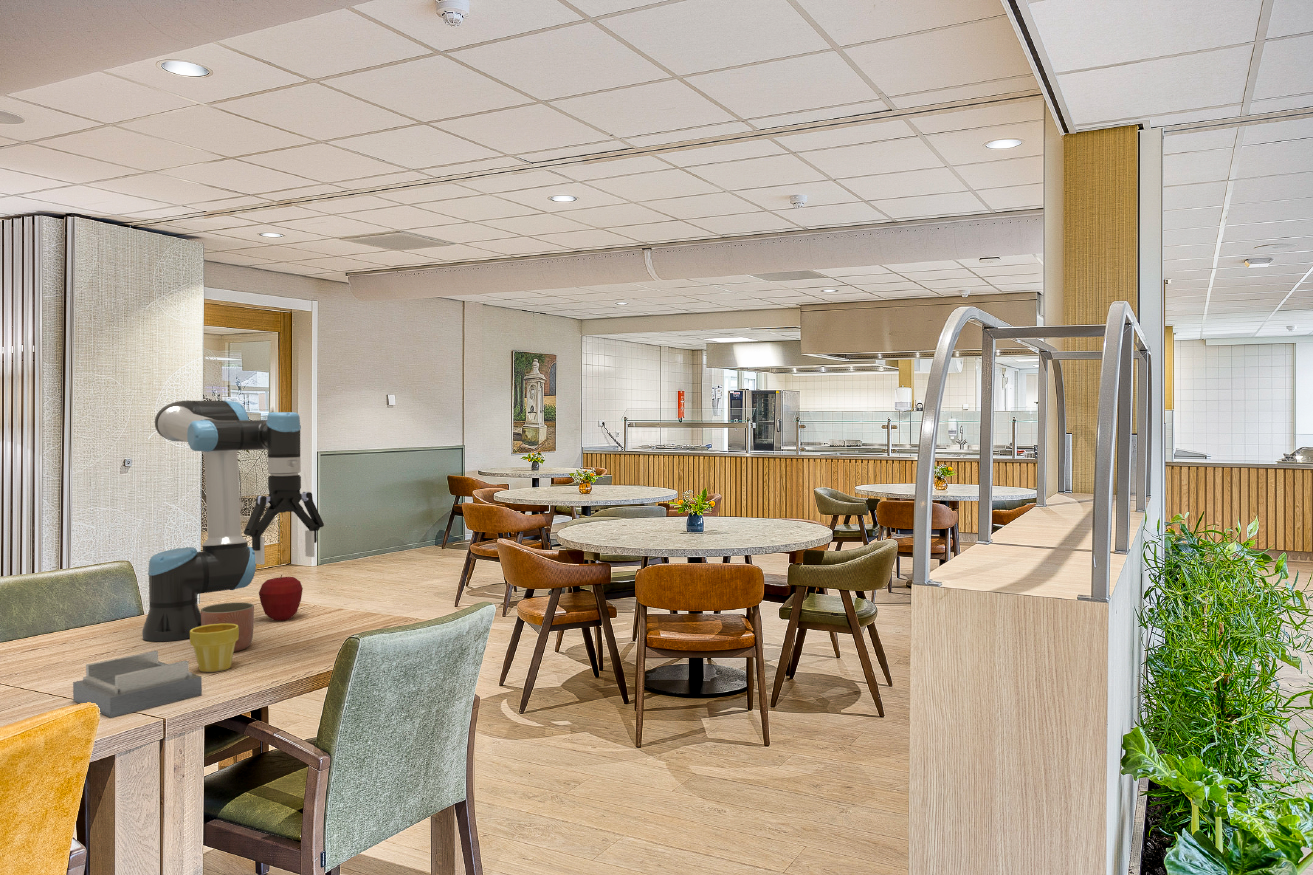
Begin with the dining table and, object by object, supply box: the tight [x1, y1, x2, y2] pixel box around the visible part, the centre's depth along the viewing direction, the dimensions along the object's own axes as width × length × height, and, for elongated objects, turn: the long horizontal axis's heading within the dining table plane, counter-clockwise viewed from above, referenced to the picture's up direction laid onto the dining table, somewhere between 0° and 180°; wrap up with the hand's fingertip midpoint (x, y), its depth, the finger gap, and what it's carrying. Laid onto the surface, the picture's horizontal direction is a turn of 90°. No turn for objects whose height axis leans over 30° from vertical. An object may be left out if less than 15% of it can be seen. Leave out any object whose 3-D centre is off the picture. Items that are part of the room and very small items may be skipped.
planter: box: [200, 602, 255, 653], centre depth 230 cm, size 12×12×11 cm
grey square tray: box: [72, 650, 203, 719], centre depth 190 cm, size 19×18×8 cm
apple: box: [258, 574, 304, 622], centre depth 264 cm, size 12×12×13 cm
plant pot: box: [189, 624, 239, 673], centre depth 212 cm, size 10×10×10 cm
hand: (285, 560), depth 221 cm, fingers open, 13 cm apart
